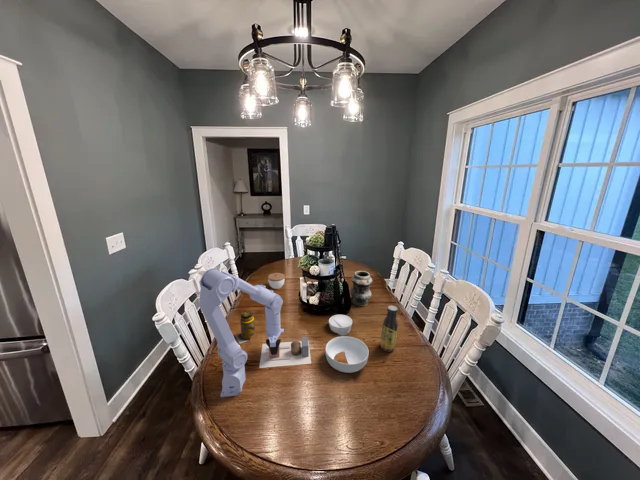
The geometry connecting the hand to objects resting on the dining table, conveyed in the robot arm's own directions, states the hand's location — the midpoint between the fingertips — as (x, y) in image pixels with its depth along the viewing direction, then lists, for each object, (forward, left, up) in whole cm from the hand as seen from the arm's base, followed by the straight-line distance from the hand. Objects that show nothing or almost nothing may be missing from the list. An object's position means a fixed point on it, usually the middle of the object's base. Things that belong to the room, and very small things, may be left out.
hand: (274, 350), depth 105 cm
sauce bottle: (0, -49, -4) cm, 49 cm away
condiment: (+15, +13, -4) cm, 21 cm away
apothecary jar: (+40, -48, -4) cm, 62 cm away
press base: (0, -5, -3) cm, 6 cm away
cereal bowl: (-7, -29, -4) cm, 30 cm away
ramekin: (+15, -31, -4) cm, 34 cm away
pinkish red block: (0, 0, -2) cm, 2 cm away
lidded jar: (+65, +1, -4) cm, 65 cm away
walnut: (0, -9, -2) cm, 9 cm away
